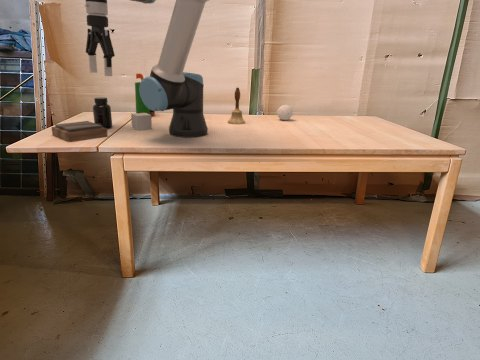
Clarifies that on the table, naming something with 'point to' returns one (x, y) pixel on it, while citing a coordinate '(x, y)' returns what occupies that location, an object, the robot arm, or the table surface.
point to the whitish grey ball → (285, 112)
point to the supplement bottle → (102, 112)
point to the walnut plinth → (79, 131)
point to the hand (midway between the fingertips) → (100, 74)
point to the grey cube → (141, 121)
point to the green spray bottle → (139, 103)
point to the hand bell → (236, 111)
